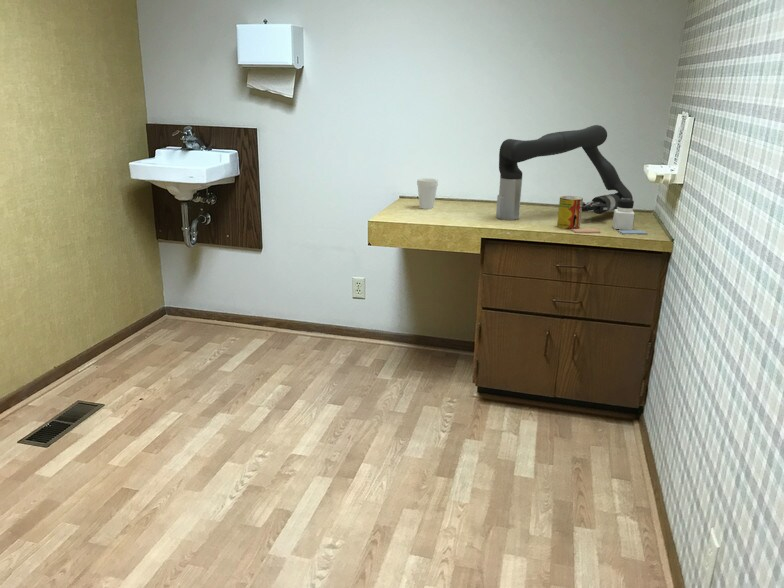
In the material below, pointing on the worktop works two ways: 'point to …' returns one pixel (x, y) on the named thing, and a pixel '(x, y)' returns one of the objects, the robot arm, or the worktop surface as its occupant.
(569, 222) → the yellow red tin can
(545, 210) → the worktop surface
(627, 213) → the medicine bottle
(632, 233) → the slate-blue tag
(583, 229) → the terracotta tag
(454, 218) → the worktop surface
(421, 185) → the foam cup
